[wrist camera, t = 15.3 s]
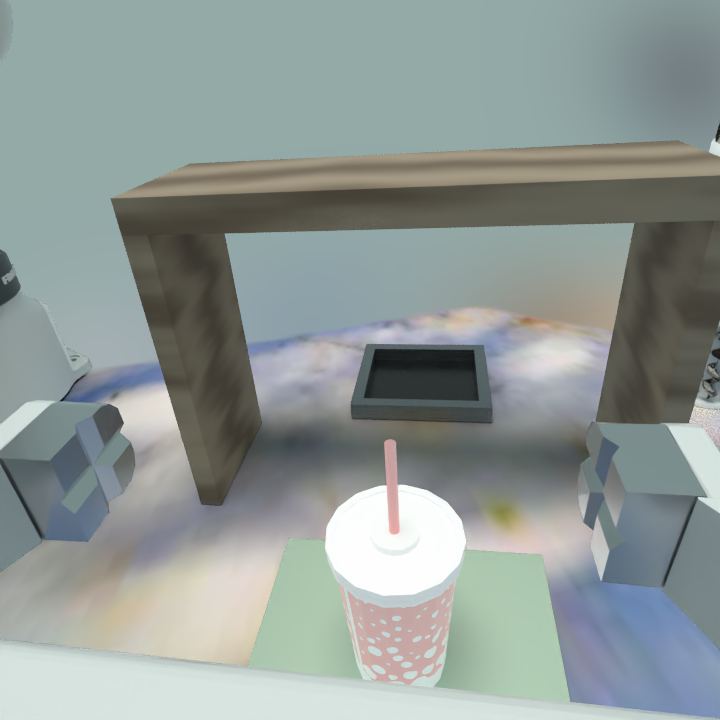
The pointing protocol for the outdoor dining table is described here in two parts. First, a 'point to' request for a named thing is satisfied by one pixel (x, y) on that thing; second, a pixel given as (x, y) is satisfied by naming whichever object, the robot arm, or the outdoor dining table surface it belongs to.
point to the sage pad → (466, 632)
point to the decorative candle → (716, 383)
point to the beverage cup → (397, 577)
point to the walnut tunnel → (424, 210)
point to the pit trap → (423, 383)
